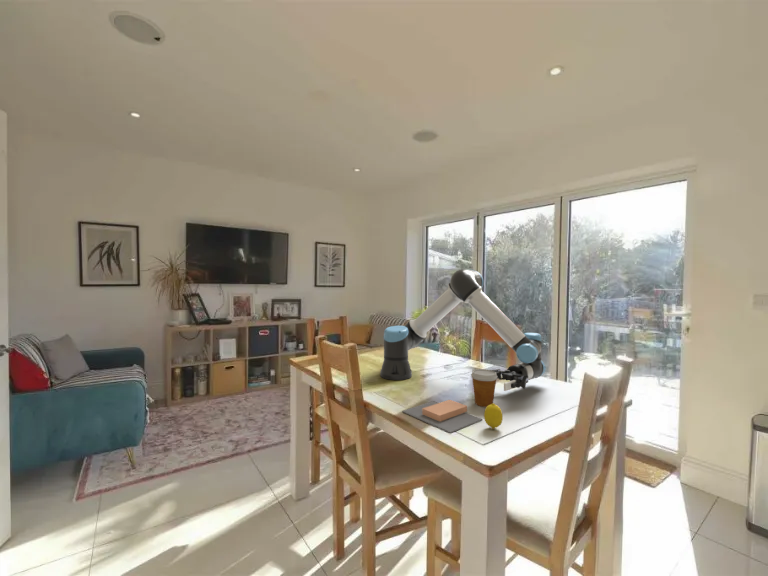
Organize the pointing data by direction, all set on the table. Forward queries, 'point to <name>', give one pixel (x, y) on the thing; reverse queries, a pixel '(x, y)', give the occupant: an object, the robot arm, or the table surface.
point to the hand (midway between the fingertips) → (488, 382)
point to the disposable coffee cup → (484, 386)
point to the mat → (446, 425)
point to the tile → (444, 410)
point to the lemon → (493, 416)
